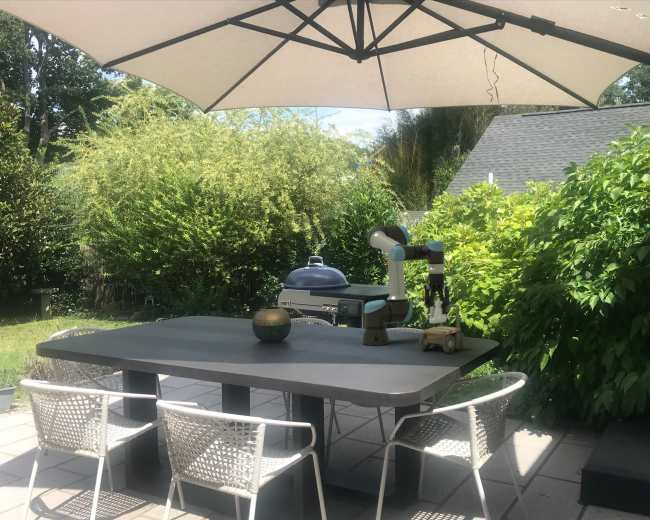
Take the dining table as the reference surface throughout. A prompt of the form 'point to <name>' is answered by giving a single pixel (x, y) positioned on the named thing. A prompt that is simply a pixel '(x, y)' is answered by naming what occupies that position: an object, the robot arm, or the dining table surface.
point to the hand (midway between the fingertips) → (437, 320)
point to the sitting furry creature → (438, 313)
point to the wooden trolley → (443, 336)
